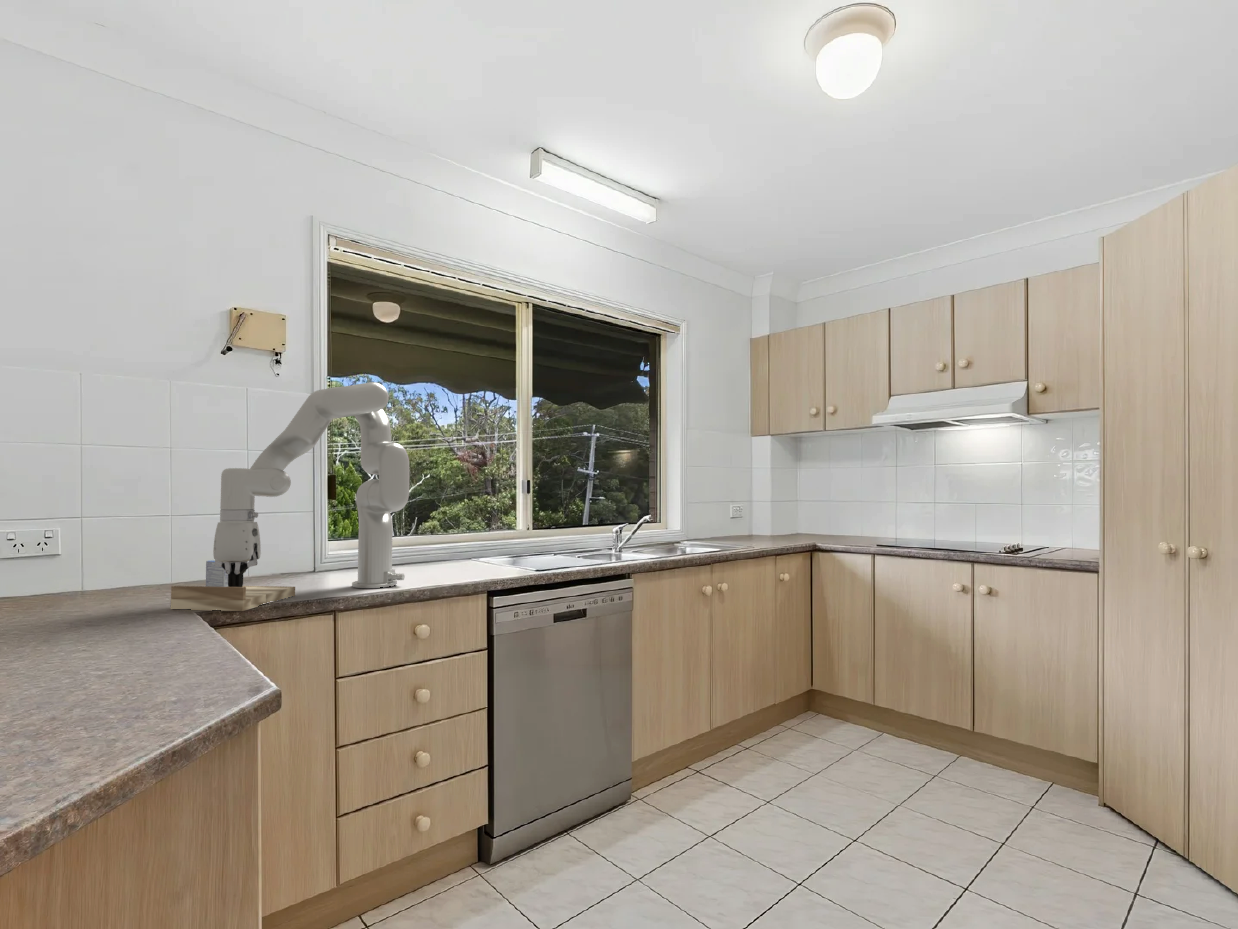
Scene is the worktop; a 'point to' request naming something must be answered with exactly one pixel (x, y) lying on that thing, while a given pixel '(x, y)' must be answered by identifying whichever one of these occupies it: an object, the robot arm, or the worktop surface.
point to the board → (226, 597)
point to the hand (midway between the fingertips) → (235, 589)
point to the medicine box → (215, 575)
